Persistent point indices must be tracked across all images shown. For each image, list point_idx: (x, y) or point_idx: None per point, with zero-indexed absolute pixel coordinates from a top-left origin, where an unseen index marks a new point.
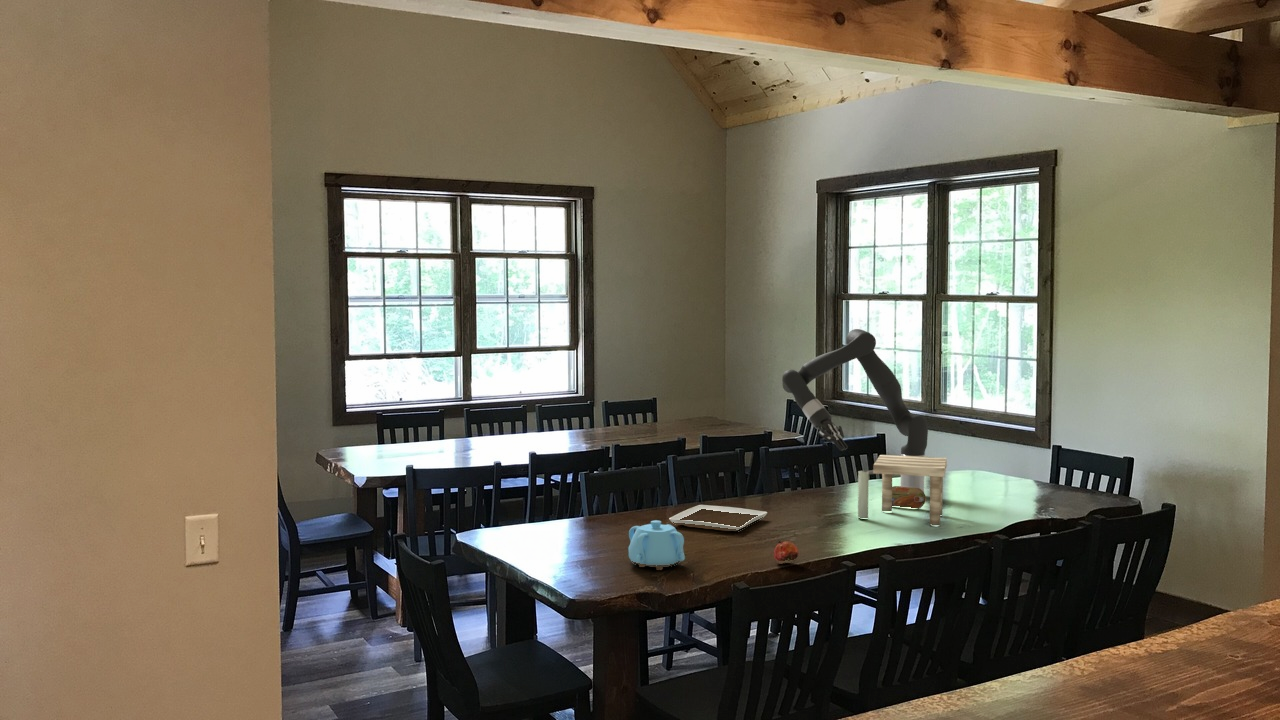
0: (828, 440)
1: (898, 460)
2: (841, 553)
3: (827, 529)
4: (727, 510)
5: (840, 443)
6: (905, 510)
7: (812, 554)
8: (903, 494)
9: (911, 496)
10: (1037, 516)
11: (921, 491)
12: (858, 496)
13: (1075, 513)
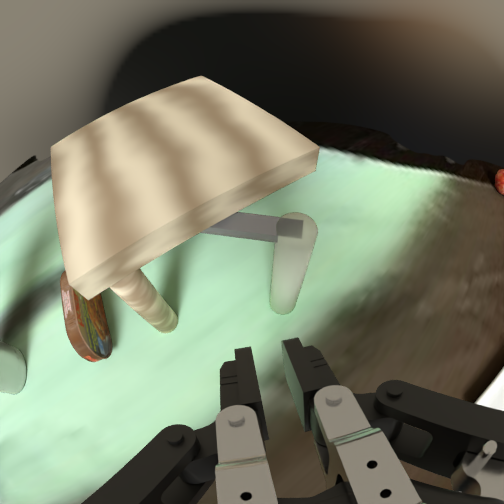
0: (407, 428)
1: (159, 158)
2: (445, 178)
3: (411, 278)
4: None
5: (310, 365)
6: (118, 306)
7: (474, 195)
8: (84, 310)
9: None
10: None
11: None
12: (302, 282)
13: (36, 165)
